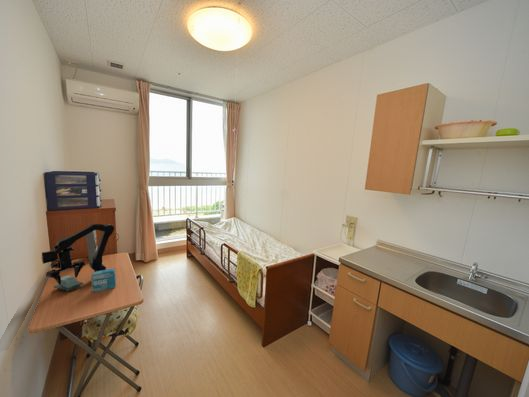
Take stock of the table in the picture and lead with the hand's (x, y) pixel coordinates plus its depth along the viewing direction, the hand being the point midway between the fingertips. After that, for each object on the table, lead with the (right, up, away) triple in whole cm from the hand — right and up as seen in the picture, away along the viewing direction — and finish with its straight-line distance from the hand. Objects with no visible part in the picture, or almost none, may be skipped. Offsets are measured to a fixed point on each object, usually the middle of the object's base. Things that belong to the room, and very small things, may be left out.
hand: (68, 280), depth 142 cm
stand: (0, -5, +1) cm, 5 cm away
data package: (+24, -5, 0) cm, 25 cm away
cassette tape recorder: (-22, +2, +49) cm, 54 cm away
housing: (0, -3, 0) cm, 2 cm away
